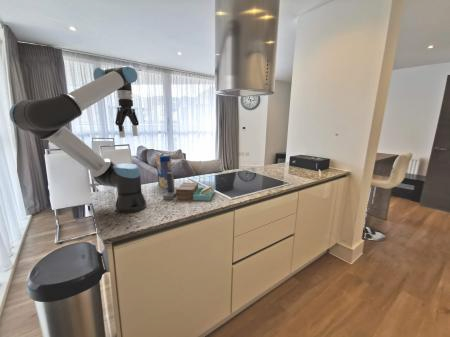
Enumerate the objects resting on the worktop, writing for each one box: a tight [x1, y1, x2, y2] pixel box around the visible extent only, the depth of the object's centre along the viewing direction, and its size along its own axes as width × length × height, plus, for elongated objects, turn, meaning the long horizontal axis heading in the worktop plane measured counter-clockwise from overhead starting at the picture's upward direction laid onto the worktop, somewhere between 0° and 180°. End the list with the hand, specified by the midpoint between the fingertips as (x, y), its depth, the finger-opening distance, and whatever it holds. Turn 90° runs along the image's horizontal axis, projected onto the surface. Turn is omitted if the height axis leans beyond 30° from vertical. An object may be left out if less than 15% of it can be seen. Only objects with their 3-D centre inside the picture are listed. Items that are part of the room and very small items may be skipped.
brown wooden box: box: [176, 182, 199, 201], centre depth 130 cm, size 14×10×6 cm
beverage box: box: [155, 153, 172, 189], centre depth 151 cm, size 7×11×22 cm, turn 34°
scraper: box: [162, 172, 178, 201], centre depth 131 cm, size 16×6×14 cm, turn 174°
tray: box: [193, 187, 215, 201], centre depth 130 cm, size 15×10×3 cm, turn 174°
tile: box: [201, 185, 213, 195], centre depth 129 cm, size 6×6×3 cm
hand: (129, 136), depth 123 cm, fingers open, 13 cm apart
